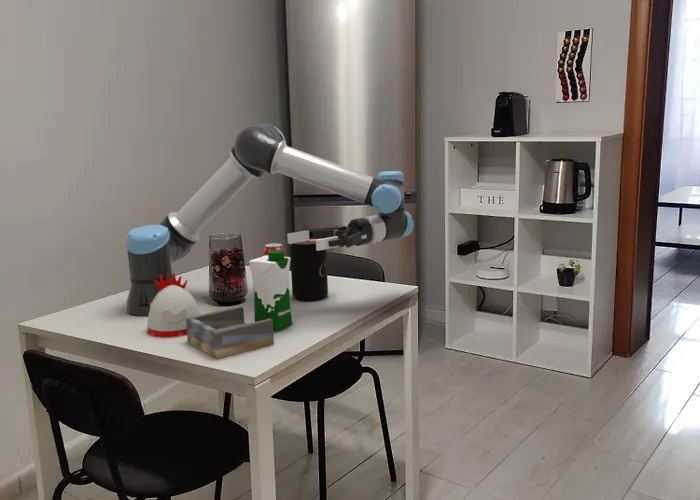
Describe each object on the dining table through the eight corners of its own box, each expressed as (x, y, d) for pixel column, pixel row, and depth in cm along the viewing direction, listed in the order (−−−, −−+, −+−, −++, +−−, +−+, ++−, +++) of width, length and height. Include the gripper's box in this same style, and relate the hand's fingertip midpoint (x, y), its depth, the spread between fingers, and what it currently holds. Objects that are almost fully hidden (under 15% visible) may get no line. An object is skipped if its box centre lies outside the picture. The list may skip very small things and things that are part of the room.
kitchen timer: (148, 324, 185) (143, 269, 182) (200, 318, 189) (196, 264, 186) (148, 340, 172) (142, 281, 169) (204, 333, 175) (200, 276, 172)
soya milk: (277, 333, 173) (273, 255, 169) (249, 328, 178) (244, 252, 174) (297, 323, 181) (293, 248, 177) (269, 319, 185) (265, 246, 181)
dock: (187, 341, 170) (185, 318, 168) (241, 328, 178) (240, 306, 177) (217, 358, 157) (215, 333, 156) (274, 343, 166) (272, 319, 165)
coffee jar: (327, 301, 201) (324, 240, 197) (290, 302, 201) (287, 241, 197) (329, 291, 211) (326, 234, 208) (294, 292, 212) (291, 234, 208)
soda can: (290, 279, 228) (288, 244, 225) (274, 284, 223) (272, 247, 220) (276, 276, 232) (274, 241, 230) (260, 281, 227) (258, 245, 225)
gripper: (395, 249, 184) (330, 263, 172) (339, 238, 204) (278, 249, 191) (394, 222, 183) (329, 233, 170) (338, 213, 202) (276, 222, 190)
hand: (302, 242), depth 181 cm, fingers open, 13 cm apart
